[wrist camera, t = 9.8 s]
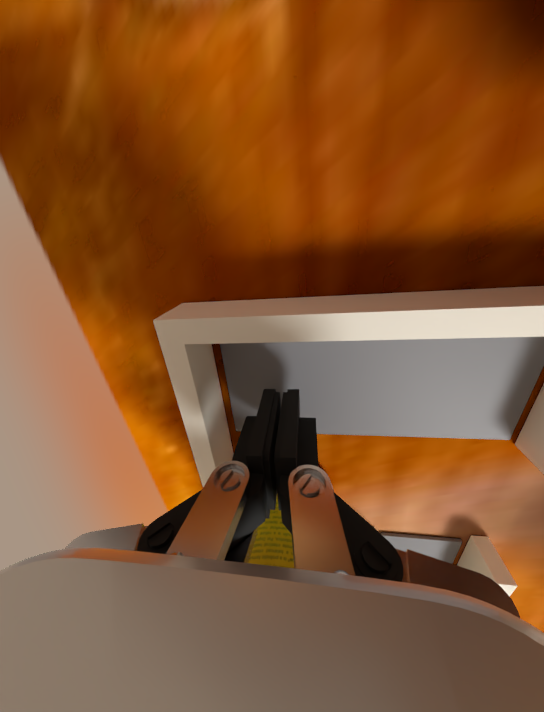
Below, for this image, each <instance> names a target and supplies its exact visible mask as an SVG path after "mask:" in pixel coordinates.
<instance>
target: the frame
mask: <svg viewBox="0 0 544 712" xmlns="http://www.w3.org/2000/svg"><path fill="white" fill-rule="evenodd" d="M153 323H154V326H155V329H156V333H157V336H158V339H159V343H160V346H161V349H162V353H163V356H164V359H165V363H166V366H167V369H168V373H169V376H170V379H171V383H172V386H173V389H174V393H175V396H176V399H177V403H178V406H179V409H180V413H181V416H182V419H183V423H184V426H185V429H186V432H187V436H188V439H189V442H190V446H191V449H192V452H193V456H194V459H195V462H196V466H197V469H198V472H199V476H200V479H201V482H202V486H203V487H204V486H205V484H206V482H207V480H208V478H209V477H210V475H211V473H212V472H213V471H214V469H215V468H216V467H218V466H219V465H220V464H222V463H224V462H227V461H232V458H233V455H234V453H233V448H232V443H231V438H230V433H229V428H228V423H227V418H226V413H225V408H224V403H223V398H222V393H221V388H220V383H219V378H218V373H217V368H216V363H215V358H214V353H213V348H212V344H220V347H221V353H222V358H223V363H224V369H225V374H226V380H227V385H228V391H229V396H230V401H231V407H232V412H233V418H234V423H235V428H236V431H242V428H243V424H244V421H245V419H246V417H247V416H257V412H258V409H259V405H260V401H261V398H262V394H263V390H264V389H276V392H280V398H281V403H282V397H283V392H287V390H288V389H299V398H300V417H306V418H316V432H317V434H341V435H373V436H405V437H437V438H468V439H500V440H510V438H511V436H512V434H513V431H514V429H515V427H516V425H517V423H518V421H519V418H520V416H521V414H522V412H523V410H524V408H525V405H526V403H527V401H528V399H529V397H530V395H531V392H532V390H533V388H534V386H535V384H536V382H537V379H538V377H539V375H540V373H541V371H542V369H543V366H544V286H529V287H508V288H487V289H466V290H445V291H424V292H403V293H382V294H361V295H340V296H319V297H298V298H277V299H256V300H235V301H214V302H192V303H182V304H180V305H178V306H177V307H175V308H173V309H171V310H170V311H168V312H166V313H164V314H163V315H161V316H159V317H158V318H156V319H154V320H153ZM515 446H516V447H517V448H518V449H519V450H520V451H521V452H522V453H523V454H524V455H525V456H526V457H527V458H528V459H529V460H530V461H531V462H532V463H533V464H534V465H535V466H536V467H537V468H538V469H539V470H540V471H541V472H542V473H543V474H544V384H543V386H542V388H541V390H540V392H539V394H538V396H537V399H536V401H535V403H534V405H533V407H532V409H531V411H530V413H529V415H528V417H527V419H526V422H525V424H524V426H523V428H522V430H521V432H520V434H519V436H518V438H517V440H516V442H515ZM373 528H374V527H373ZM374 529H375V528H374ZM381 535H382V536H383V537H385V538H386V539H387V540H388V541H389V542H390V543H391V544H392V545H393V546H394V548H396V549H399V550H402V551H405V552H406V551H407V549H409V550H412V551H415V552H418V553H421V554H424V555H427V556H430V557H433V558H436V559H439V560H442V561H445V562H448V563H451V564H453V561H454V559H455V557H456V555H457V553H458V551H459V548H460V546H461V544H462V541H461V539H454V538H443V537H431V536H419V535H407V534H396V533H384V532H381ZM457 566H460V567H463V568H466V569H469V570H472V571H475V572H478V573H481V574H483V575H485V576H487V577H489V578H491V579H492V580H493V581H494V582H496V583H497V584H498V585H499V586H501V587H502V588H503V590H504V591H505V592H506V593H507V594H508V596H509V597H510V595H511V594H512V593H513V591H514V590H515V589H516V587H517V584H516V583H515V581H514V579H513V578H512V576H511V574H510V573H509V571H508V569H507V568H506V566H505V564H504V563H503V561H502V559H501V557H500V556H499V554H498V552H497V551H496V549H495V547H494V546H493V544H492V542H491V541H490V539H489V537H485V536H473V535H471V536H470V539H469V541H468V543H467V545H466V547H465V549H464V551H463V553H462V555H461V557H460V559H459V562H458V564H457Z"/></svg>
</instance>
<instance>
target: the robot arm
mask: <svg viewBox="0 0 544 712" xmlns="http://www.w3.org/2000/svg"><path fill="white" fill-rule="evenodd" d="M277 496H278V507H279V510H281V517H282V523H283V524H284V526H285V527H286V528H287V529H288V531H289V532H290V533H291V536H292V548H293V559H294V569H293V568H285V567H276V566H267V565H259V564H250V563H248V562H249V559H250V556H251V552H252V549H253V546H254V543H255V539H256V536H257V531H258V527H259V526H260V525H261V524H262V523H263V522H265V519H266V518H267V519H269V516H270V510H275V507H276V498H277ZM0 712H544V633H543V632H542V631H540V630H539V629H537V628H535V627H534V626H532V625H531V624H529V623H527V622H525V621H524V620H522V619H520V616H519V613H518V611H517V609H516V607H515V605H514V603H513V601H512V599H511V598H510V597H509V596H508V594H507V593H506V592H505V591H504V590H503V588H502V587H501V586H499V585H498V584H497V583H496V582H494V581H493V580H492V579H491V578H489V577H487V576H485V575H483V574H481V573H478V572H475V571H472V570H469V569H466V568H463V567H460V566H457V565H454V564H451V563H448V562H445V561H442V560H439V559H436V558H433V557H430V556H427V555H424V554H421V553H418V552H415V551H412V550H409V549H407V551H406V552H405V551H402V550H399V549H396V548H394V546H393V545H392V544H391V543H390V542H389V541H388V540H387V539H386V538H385V537H383V536H382V535H381V534H380V533H379V532H378V531H377V530H376V529H374V528H373V527H372V526H371V525H370V524H369V523H368V522H367V521H366V520H364V519H363V518H362V517H361V516H360V515H359V514H358V513H357V512H355V511H354V510H353V509H352V508H351V507H350V506H349V505H348V504H346V503H345V502H344V501H343V500H342V499H341V498H340V497H339V496H338V495H336V494H335V493H334V492H333V489H332V485H331V482H330V479H329V477H328V475H327V474H326V473H325V471H324V470H322V469H321V468H319V467H318V452H317V432H316V418H306V417H300V398H299V389H288V390H287V392H283V397H282V403H281V398H280V392H276V389H264V390H263V394H262V398H261V401H260V405H259V409H258V412H257V416H247V417H246V419H245V421H244V424H243V428H242V431H241V434H240V437H239V440H238V443H237V446H236V449H235V452H234V455H233V458H232V461H227V462H224V463H222V464H220V465H219V466H218V467H216V468H215V469H214V471H213V472H212V473H211V475H210V477H209V478H208V480H207V482H206V484H205V486H204V487H203V489H202V490H201V491H199V492H198V493H196V494H195V495H193V496H192V497H190V498H188V499H187V500H185V501H184V502H182V503H181V504H179V505H178V506H176V507H175V508H173V509H171V510H170V511H168V512H167V513H165V514H164V515H163V516H161V517H159V518H157V519H156V520H155V521H153V522H152V523H151V524H150V525H149V526H144V525H143V524H137V525H131V526H126V527H118V528H112V529H106V530H100V531H95V532H89V533H86V534H83V535H81V536H79V537H78V538H76V539H74V540H73V541H72V542H71V543H70V544H69V545H68V546H67V547H66V548H65V549H62V550H56V551H51V552H47V553H44V554H40V555H37V556H34V557H31V558H28V559H25V560H22V561H20V562H18V563H15V564H13V565H11V566H9V567H7V568H5V569H3V570H1V571H0Z"/></svg>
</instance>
